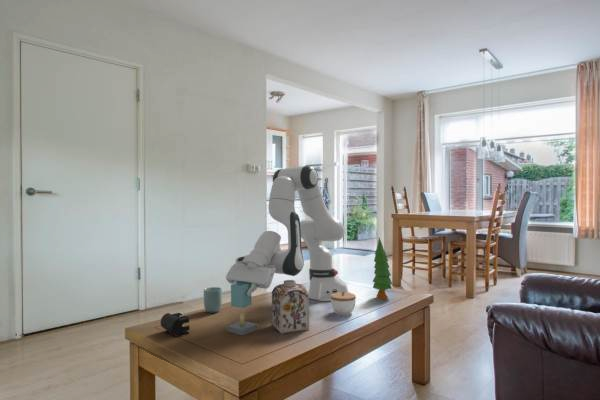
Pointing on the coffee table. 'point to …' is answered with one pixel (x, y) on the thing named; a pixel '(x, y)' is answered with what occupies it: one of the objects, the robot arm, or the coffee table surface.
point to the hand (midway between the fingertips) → (240, 294)
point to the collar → (240, 295)
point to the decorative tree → (381, 272)
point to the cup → (212, 299)
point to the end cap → (175, 323)
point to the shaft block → (242, 326)
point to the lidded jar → (343, 303)
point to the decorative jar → (290, 307)
